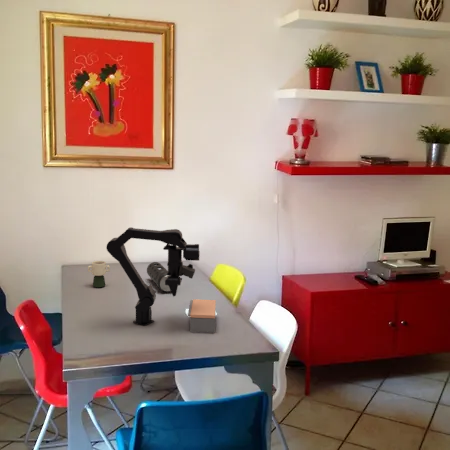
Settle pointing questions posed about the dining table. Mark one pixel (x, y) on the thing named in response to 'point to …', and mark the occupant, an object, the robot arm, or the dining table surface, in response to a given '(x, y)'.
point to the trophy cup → (98, 272)
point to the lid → (202, 308)
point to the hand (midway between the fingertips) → (174, 296)
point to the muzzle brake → (158, 275)
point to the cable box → (202, 325)
